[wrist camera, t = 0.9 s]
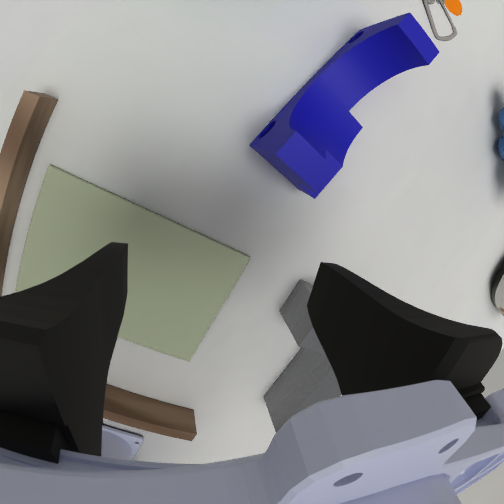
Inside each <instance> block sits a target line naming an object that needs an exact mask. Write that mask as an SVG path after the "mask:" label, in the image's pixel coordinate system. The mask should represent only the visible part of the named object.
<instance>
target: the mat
mask: <svg viewBox="0 0 504 504" xmlns="http://www.w3.org/2000/svg"><path fill="white" fill-rule="evenodd" d="M111 242H118V243H128V293H127V299H126V305H125V311H124V316H123V319H122V323H121V326H120V330H119V333H118V336H117V337H120V338H122V339H125V340H128V341H130V342H133V343H136V344H138V345H141V346H144V347H147V348H150V349H152V350H155V351H158V352H161V353H164V354H167V355H170V356H173V357H176V358H179V359H182V360H186V361H190V360H191V358H192V356H193V354H194V353H195V351H196V349H197V348H198V346H199V344H200V343H201V341H202V339H203V338H204V336H205V334H206V333H207V331H208V329H209V327H210V326H211V324H212V322H213V321H214V319H215V317H216V316H217V314H218V312H219V311H220V309H221V307H222V305H223V304H224V302H225V300H226V299H227V297H228V295H229V294H230V292H231V290H232V288H233V287H234V285H235V283H236V282H237V280H238V278H239V277H240V275H241V273H242V272H243V270H244V268H245V266H246V265H247V263H248V261H249V260H250V256H247V255H245V254H243V253H241V252H239V251H236V250H234V249H232V248H230V247H228V246H226V245H223V244H221V243H219V242H217V241H215V240H212V239H210V238H208V237H206V236H204V235H202V234H199V233H197V232H195V231H193V230H191V229H189V228H186V227H184V226H182V225H180V224H178V223H176V222H173V221H171V220H169V219H167V218H165V217H163V216H160V215H158V214H156V213H154V212H152V211H150V210H147V209H145V208H143V207H141V206H139V205H137V204H134V203H132V202H130V201H128V200H126V199H124V198H121V197H119V196H117V195H115V194H113V193H111V192H109V191H106V190H104V189H102V188H100V187H98V186H96V185H94V184H91V183H89V182H87V181H85V180H83V179H81V178H78V177H76V176H74V175H72V174H70V173H68V172H66V171H63V170H61V169H59V168H57V167H55V166H53V165H49V166H48V169H47V172H46V175H45V178H44V181H43V184H42V187H41V190H40V193H39V196H38V199H37V202H36V206H35V209H34V212H33V216H32V219H31V223H30V227H29V231H28V234H27V238H26V242H25V247H24V251H23V256H22V260H21V265H20V270H19V275H18V280H17V286H16V291H17V292H20V291H23V290H25V289H28V288H31V287H33V286H36V285H39V284H41V283H44V282H46V281H48V280H50V279H52V278H54V277H56V276H58V275H60V274H62V273H64V272H66V271H67V270H69V269H71V268H72V267H74V266H75V265H77V264H79V263H80V262H82V261H84V260H85V259H87V258H88V257H90V256H91V255H92V254H94V253H95V252H97V251H98V250H100V249H101V248H103V247H104V246H106V245H107V244H109V243H111Z"/></svg>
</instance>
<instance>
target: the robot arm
mask: <svg viewBox="0 0 504 504" xmlns="http://www.w3.org/2000/svg"><path fill="white" fill-rule="evenodd" d="M127 293H128V243H118V242H111V243H109V244H107V245H106V246H104V247H103V248H101V249H100V250H98V251H97V252H95V253H94V254H92V255H91V256H90V257H88V258H87V259H85V260H84V261H82V262H80V263H79V264H77V265H75V266H74V267H72V268H71V269H69V270H67V271H66V272H64V273H62V274H60V275H58V276H56V277H54V278H52V279H50V280H48V281H46V282H44V283H41V284H39V285H36V286H33V287H31V288H28V289H25V290H23V291H20V292H17V293H13V294H10V295H6V296H2V297H0V504H461V502H460V500H459V498H458V497H457V495H456V494H458V493H460V492H461V491H463V490H464V489H466V488H468V487H469V486H471V485H472V484H474V483H475V482H477V481H478V480H480V479H481V478H483V477H484V476H486V475H487V474H489V473H490V472H492V471H493V470H495V469H496V468H497V467H498V466H499V465H500V464H502V463H503V462H504V389H501V390H499V391H496V392H494V393H492V394H490V395H489V396H487V397H486V398H484V397H483V395H482V394H481V393H482V392H483V391H484V390H485V387H484V386H483V385H482V383H481V381H482V380H483V378H484V377H485V375H486V374H487V373H488V371H489V370H490V368H491V367H492V366H493V364H494V363H495V361H496V359H497V357H498V356H499V353H500V351H501V347H502V338H501V337H500V336H499V335H498V334H497V333H496V332H495V331H494V330H492V329H489V328H483V327H478V326H472V325H467V324H463V323H459V322H456V321H452V320H448V319H445V318H442V317H439V316H436V315H434V314H431V313H428V312H426V311H423V310H421V309H418V308H416V307H414V306H412V305H410V304H408V303H405V302H403V301H401V300H399V299H397V298H396V297H394V296H392V295H390V294H388V293H387V292H385V291H383V290H381V289H380V288H378V287H376V286H374V285H373V284H371V283H369V282H368V281H366V280H365V279H363V278H361V277H359V276H358V275H356V274H354V273H353V272H351V271H349V270H347V269H345V268H344V267H341V266H339V265H337V264H333V263H323V262H321V263H320V266H319V269H318V273H317V276H316V279H315V282H314V285H313V288H312V291H311V294H310V297H309V300H308V303H307V309H308V313H309V317H310V320H311V323H312V326H313V328H314V331H315V333H316V335H317V337H318V339H319V341H320V344H321V346H322V348H323V350H324V352H325V354H326V356H327V358H328V360H329V362H330V364H331V366H332V369H333V371H334V373H335V376H336V378H337V381H338V385H339V388H340V391H341V394H342V396H339V397H335V398H332V399H328V400H324V401H320V402H317V403H315V404H313V405H311V406H310V407H308V408H306V409H304V410H302V411H300V412H298V413H296V414H295V415H293V416H292V417H291V418H290V419H289V420H288V421H287V422H286V423H285V424H284V425H283V426H282V427H281V428H280V430H279V431H278V432H277V433H276V434H275V435H274V437H273V439H272V441H271V443H270V445H269V447H268V449H267V451H266V452H265V453H263V454H258V455H253V456H248V457H243V458H238V459H232V460H227V461H221V462H214V463H208V464H172V463H155V462H142V461H132V459H133V457H134V456H135V454H136V452H137V451H138V449H139V447H140V446H141V444H142V442H143V437H141V436H139V435H135V434H131V433H128V432H124V431H121V430H117V429H114V428H111V427H107V426H104V425H103V411H104V400H105V391H106V383H107V376H108V370H109V365H110V361H111V357H112V354H113V350H114V347H115V343H116V340H117V336H118V333H119V330H120V326H121V323H122V319H123V316H124V311H125V305H126V299H127Z"/></svg>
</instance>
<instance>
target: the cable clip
mask: <svg viewBox="0 0 504 504" xmlns="http://www.w3.org/2000/svg"><path fill="white" fill-rule="evenodd" d="M438 53H439V51H438V49H437V48H436V46H435V45H434V43H433V42H432V41H431V39H430V38H429V37H428V35H427V34H426V32H425V31H424V30H423V29H422V27H421V26H420V25H419V23H418V22H417V21H416V19H415V18H414V17H413V16H412V14H411V13H407V14H403V15H400V16H397V17H394V18H391V19H388V20H386V21H383V22H380V23H377V24H374V25H372V26H369V27H366V28H364V29H361V30H359V31H358V32H357V33H356V34H355V35H354V36H353V37H352V38H351V39H350V40H349V41H348V42H347V43H346V44H345V45H344V46H343V47H342V48H341V49H340V50H339V51H338V52H337V53H336V54H335V55H334V56H333V57H332V58H331V59H330V60H329V61H328V62H327V63H326V64H325V65H324V66H323V67H322V68H321V69H320V70H319V71H318V72H317V73H316V74H315V75H314V76H313V77H312V78H311V79H310V80H309V81H308V82H307V83H306V84H305V85H304V86H303V87H302V88H301V89H300V90H299V91H298V92H297V94H296V95H295V96H294V97H293V98H292V99H291V100H290V101H289V102H288V103H287V104H286V105H285V106H284V107H283V109H282V110H281V111H280V112H279V113H278V114H277V115H276V116H275V117H274V118H273V119H272V121H271V122H270V123H269V124H268V125H267V126H266V127H265V128H264V129H263V131H262V132H261V133H260V134H259V135H258V136H257V137H256V138H255V140H254V141H253V142H252V143H251V144H250V146H251V147H252V148H253V149H254V150H255V151H257V152H258V153H259V154H260V155H261V156H262V157H263V158H265V159H266V160H267V161H268V162H269V163H270V164H271V165H273V166H274V167H275V168H276V169H277V170H278V171H279V172H280V173H281V174H283V175H284V176H285V177H286V178H287V179H288V180H289V181H290V182H291V183H293V184H294V185H295V186H296V187H297V188H298V189H299V190H301V191H303V192H304V193H306V194H308V195H309V196H311V197H313V198H314V199H315V198H316V197H317V196H318V194H319V193H320V192H321V191H322V190H323V189H324V188H325V186H326V185H327V184H328V183H329V182H330V181H331V179H332V178H333V177H334V176H335V175H336V174H337V172H338V171H339V170H340V169H341V168H342V167H343V162H344V158H345V155H346V153H347V150H348V148H349V146H350V145H351V143H352V141H353V140H354V138H355V137H356V135H357V134H358V133H359V131H360V130H361V129H362V128H363V127H362V126H361V125H360V124H359V123H358V121H357V120H356V119H355V118H354V117H353V116H352V115H351V113H350V112H349V110H350V109H351V108H352V107H353V106H354V105H355V104H356V103H357V102H358V101H359V100H360V99H362V98H363V97H364V96H365V95H366V94H367V93H369V92H370V91H371V90H373V89H374V88H375V87H377V86H378V85H380V84H381V83H383V82H384V81H386V80H388V79H390V78H391V77H393V76H395V75H397V74H399V73H402V72H404V71H406V70H409V69H412V68H416V67H420V66H425V65H429V64H430V63H431V62H432V60H433V59H434V58H435V57H436V56H437V54H438Z"/></svg>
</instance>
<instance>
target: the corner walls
mask: <svg viewBox="0 0 504 504" xmlns="http://www.w3.org/2000/svg"><path fill="white" fill-rule="evenodd" d="M57 100H58V99H56V98H54V97H51V96H49V95H46V94H44V93H37V92H31V91H24V92H23V95H22V97H21V99H20V102H19V104H18V106H17V109H16V111H15V114H14V116H13V119H12V122H11V124H10V127H9V130H8V132H7V135H6V138H5V141H4V144H3V147H2V150H1V153H0V297H1V292H2V285H3V278H4V272H5V266H6V260H7V255H8V250H9V245H10V240H11V236H12V231H13V227H14V223H15V219H16V215H17V211H18V207H19V203H20V200H21V196H22V193H23V190H24V186H25V183H26V180H27V177H28V174H29V171H30V168H31V165H32V162H33V159H34V156H35V153H36V151H37V148H38V145H39V143H40V140H41V138H42V135H43V133H44V130H45V128H46V125H47V123H48V121H49V118H50V116H51V114H52V111H53V109H54V107H55V105H56V103H57ZM103 418H105V419H108V420H111V421H114V422H118V423H121V424H124V425H128V426H131V427H135V428H138V429H142V430H146V431H150V432H154V433H158V434H162V435H166V436H170V437H175V438H179V439H184V440H189V441H192V440H193V439H194V437H195V436H196V435H197V432H196V425H195V417H194V410H192V409H188V408H184V407H180V406H176V405H172V404H169V403H165V402H161V401H158V400H154V399H151V398H148V397H144V396H141V395H138V394H135V393H132V392H128V391H125V390H122V389H119V388H116V387H114V386H111V385H108V384H106V391H105V400H104V411H103Z"/></svg>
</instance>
